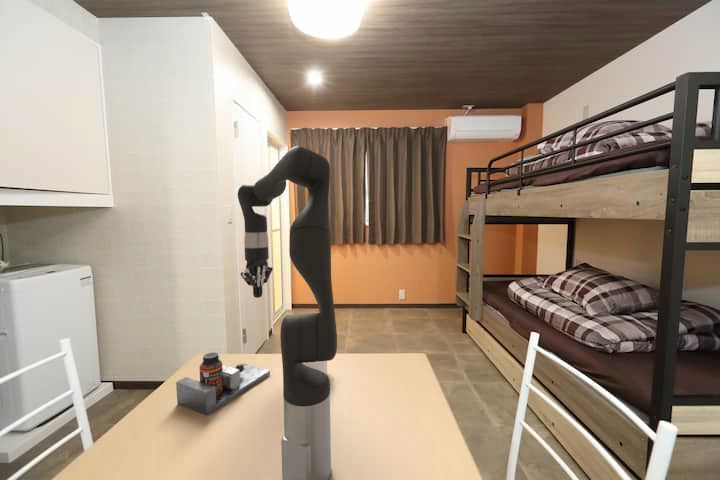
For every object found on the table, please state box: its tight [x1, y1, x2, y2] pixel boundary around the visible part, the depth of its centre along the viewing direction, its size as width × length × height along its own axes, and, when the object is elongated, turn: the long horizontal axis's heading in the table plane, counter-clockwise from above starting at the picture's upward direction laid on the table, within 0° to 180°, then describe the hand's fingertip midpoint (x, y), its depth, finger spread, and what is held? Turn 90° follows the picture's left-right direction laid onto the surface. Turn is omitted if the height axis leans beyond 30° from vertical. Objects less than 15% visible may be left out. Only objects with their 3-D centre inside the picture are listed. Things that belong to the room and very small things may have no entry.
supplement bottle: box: [199, 352, 223, 396], centre depth 93 cm, size 6×6×11 cm
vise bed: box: [175, 362, 271, 417], centre depth 98 cm, size 24×12×6 cm, turn 154°
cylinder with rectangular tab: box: [302, 361, 328, 376], centre depth 106 cm, size 9×9×12 cm
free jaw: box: [222, 363, 244, 390], centre depth 100 cm, size 9×9×5 cm
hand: (258, 297), depth 109 cm, fingers closed
